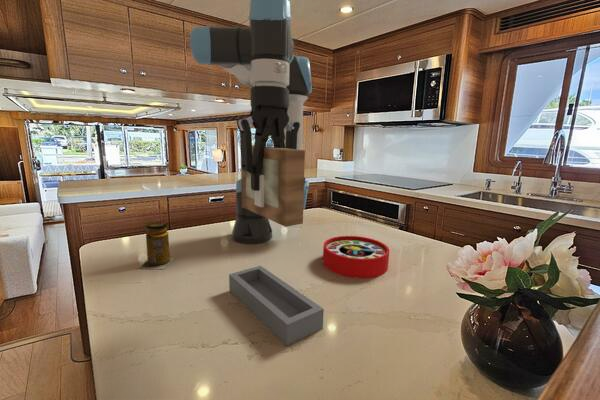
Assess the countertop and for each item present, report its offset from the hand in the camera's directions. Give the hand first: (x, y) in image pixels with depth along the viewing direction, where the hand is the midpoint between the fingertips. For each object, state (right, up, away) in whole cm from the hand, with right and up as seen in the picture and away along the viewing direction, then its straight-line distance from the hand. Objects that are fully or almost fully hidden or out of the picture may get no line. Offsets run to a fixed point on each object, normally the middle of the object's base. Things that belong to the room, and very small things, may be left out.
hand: (269, 204), depth 64 cm
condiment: (-36, -18, +27) cm, 49 cm away
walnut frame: (0, -2, 0) cm, 2 cm away
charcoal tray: (0, -24, +5) cm, 24 cm away
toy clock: (+24, -19, +31) cm, 43 cm away
